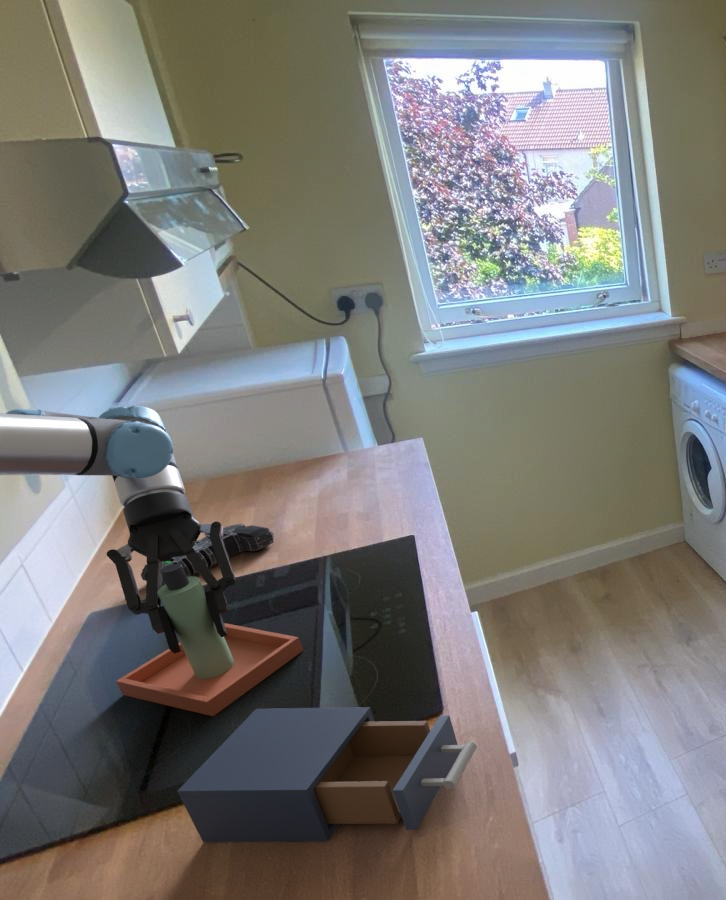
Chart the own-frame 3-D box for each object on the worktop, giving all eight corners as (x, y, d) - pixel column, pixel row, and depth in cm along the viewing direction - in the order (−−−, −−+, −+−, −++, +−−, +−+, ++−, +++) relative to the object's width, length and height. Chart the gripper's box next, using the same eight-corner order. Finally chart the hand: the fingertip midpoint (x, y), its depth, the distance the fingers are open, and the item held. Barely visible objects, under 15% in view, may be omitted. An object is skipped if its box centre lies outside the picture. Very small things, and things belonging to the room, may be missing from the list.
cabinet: (386, 755, 95) (370, 707, 92) (327, 841, 84) (306, 789, 80) (276, 756, 95) (255, 708, 92) (202, 842, 84) (176, 791, 81)
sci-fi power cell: (273, 525, 145) (240, 517, 148) (166, 576, 129) (132, 566, 132) (280, 543, 146) (247, 535, 150) (175, 596, 130) (142, 585, 134)
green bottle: (188, 674, 110) (142, 572, 103) (223, 654, 114) (180, 556, 107) (206, 683, 108) (160, 580, 101) (241, 663, 112) (199, 563, 105)
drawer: (491, 752, 94) (481, 714, 91) (452, 830, 83) (439, 790, 81) (356, 753, 94) (343, 716, 92) (300, 831, 84) (283, 791, 81)
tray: (122, 695, 107) (115, 681, 106) (219, 634, 120) (213, 620, 119) (213, 716, 102) (206, 702, 101) (303, 650, 115) (298, 637, 114)
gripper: (231, 493, 119) (276, 623, 113) (85, 530, 108) (126, 675, 103) (222, 473, 113) (269, 610, 108) (66, 511, 102) (109, 664, 97)
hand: (199, 641), depth 105 cm, fingers closed on green bottle, 5 cm apart
